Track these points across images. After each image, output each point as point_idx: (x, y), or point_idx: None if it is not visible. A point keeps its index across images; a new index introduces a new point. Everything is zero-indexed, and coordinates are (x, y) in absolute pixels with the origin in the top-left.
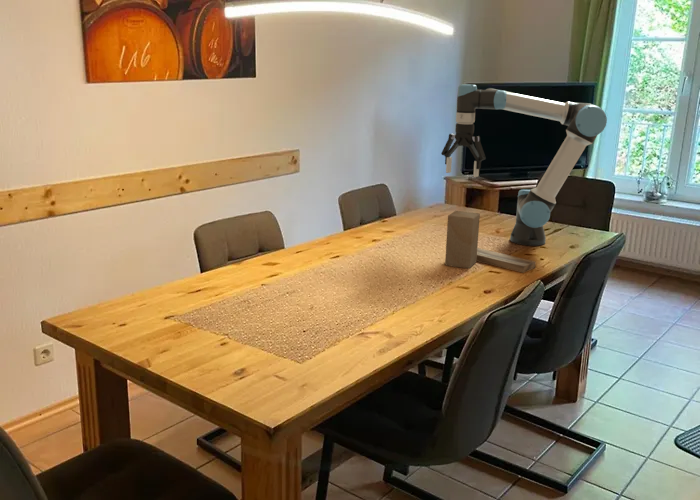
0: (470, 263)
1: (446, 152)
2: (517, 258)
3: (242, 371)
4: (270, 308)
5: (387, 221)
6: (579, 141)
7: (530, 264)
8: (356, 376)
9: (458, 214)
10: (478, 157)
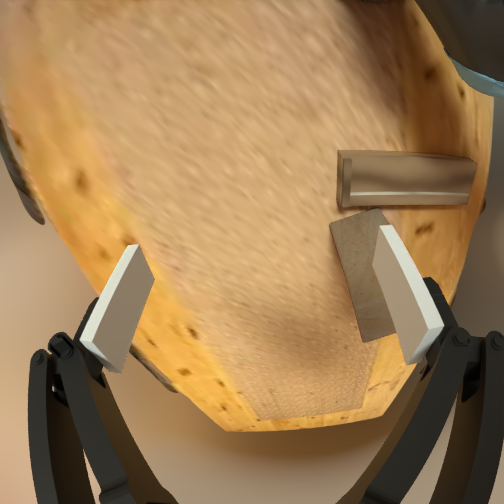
0: None
1: (51, 375)
2: (449, 168)
3: (343, 417)
4: (289, 402)
5: (19, 134)
6: None
7: (472, 181)
8: (392, 399)
9: (381, 327)
10: (444, 365)
